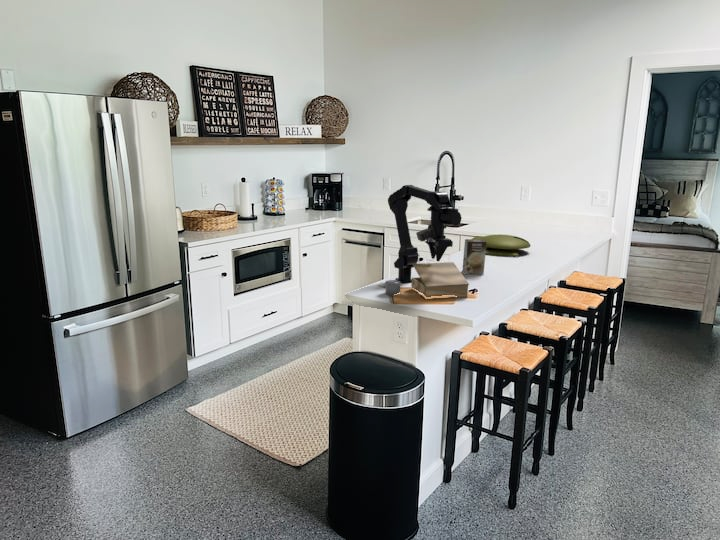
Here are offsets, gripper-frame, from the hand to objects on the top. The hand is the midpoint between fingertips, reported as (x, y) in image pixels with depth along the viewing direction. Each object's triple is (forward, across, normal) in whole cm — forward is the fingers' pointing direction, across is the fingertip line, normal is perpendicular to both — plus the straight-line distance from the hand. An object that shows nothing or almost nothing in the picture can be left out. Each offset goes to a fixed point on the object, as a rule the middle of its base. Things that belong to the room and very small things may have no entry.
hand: (435, 259), depth 221 cm
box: (+13, +5, 0) cm, 14 cm away
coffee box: (+13, -25, +31) cm, 42 cm away
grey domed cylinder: (+13, +2, -19) cm, 23 cm away
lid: (+5, +5, 0) cm, 7 cm away
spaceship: (+14, -74, +73) cm, 104 cm away
